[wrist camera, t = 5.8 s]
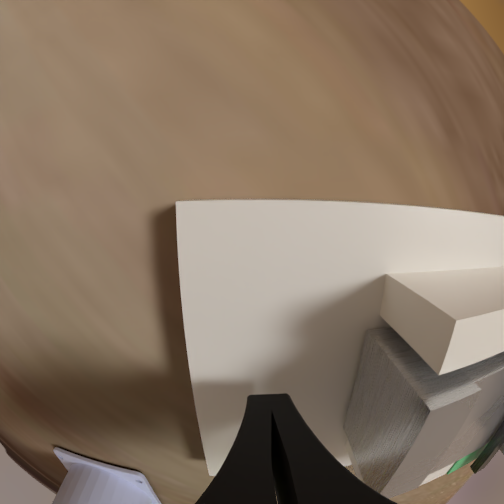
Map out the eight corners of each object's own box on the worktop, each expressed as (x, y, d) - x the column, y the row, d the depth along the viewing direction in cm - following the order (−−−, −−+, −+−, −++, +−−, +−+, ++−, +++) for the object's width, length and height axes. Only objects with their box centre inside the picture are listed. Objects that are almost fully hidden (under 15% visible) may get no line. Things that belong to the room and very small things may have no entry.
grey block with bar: (506, 268, 9) (575, 298, 4) (454, 415, 11) (491, 462, 6) (374, 276, 9) (464, 344, 4) (334, 451, 11) (358, 524, 6)
